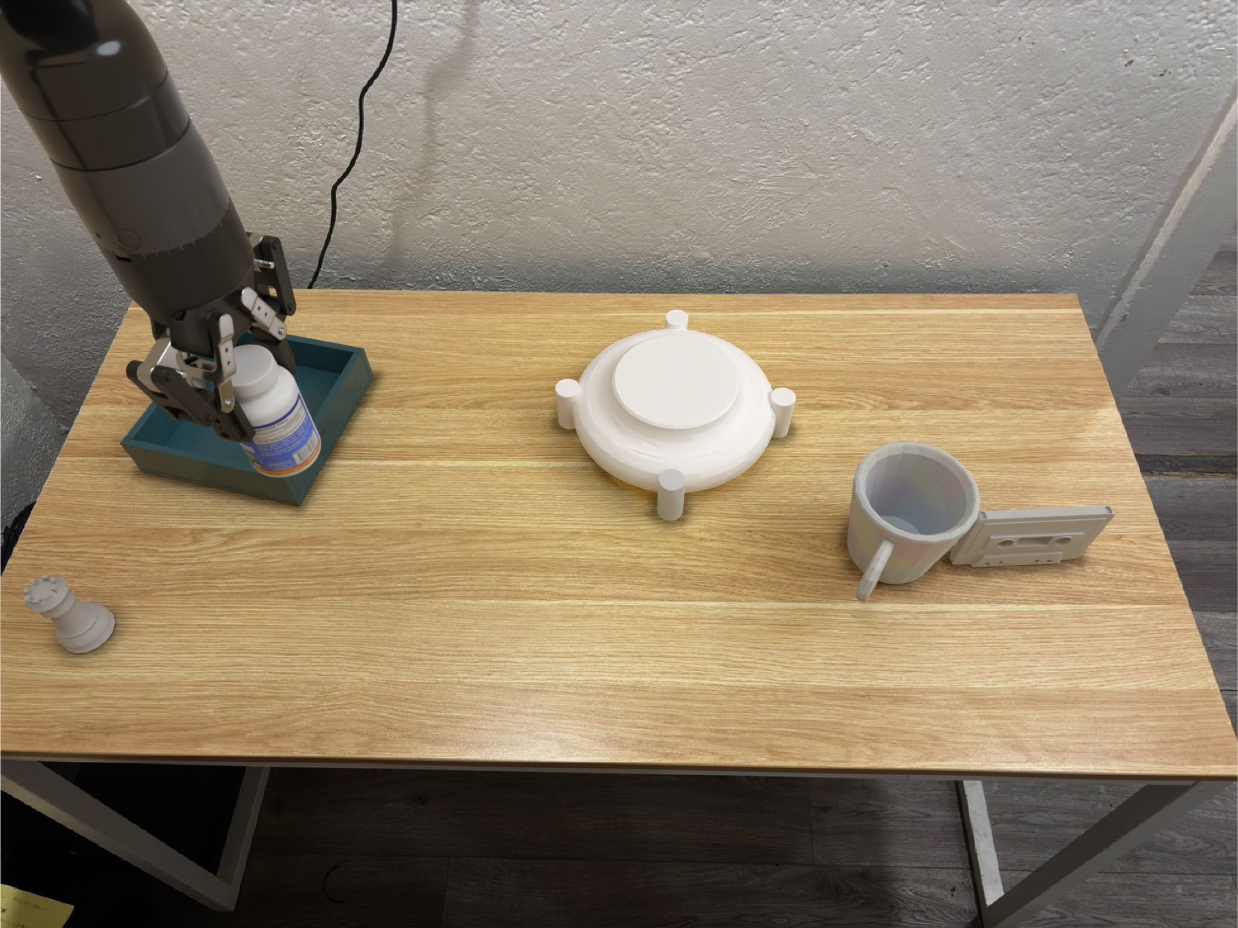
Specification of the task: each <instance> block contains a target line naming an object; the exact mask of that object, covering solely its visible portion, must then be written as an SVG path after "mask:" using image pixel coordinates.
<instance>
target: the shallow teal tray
mask: <svg viewBox="0 0 1238 928" xmlns="http://www.w3.org/2000/svg"><path fill="white" fill-rule="evenodd" d="M253 336H254V335H253V334H249V333H248V332H246V333H245V334H244V335H242V336H241V337H240V338H239V339H238V341H237V343H236V345H235V347H238V346H242V345H252V343H251V341H250V340H251V339H252V338H253ZM285 337H286V340H287V342H288V344H289V346H290V348H291V351H292V353H293V355H294V357H295V367H296V369H297V371H298V373H297V375H296V376H295V378H294V379H295V382H296V384H297V386H298V388H299V391H300V393H301V395H302V398H303V400H304V402H305V404H306V407H307V409H308V411H309V414H310V416H311V418H312V420H313V422H314V424H315V427H316V429H317V431H318V433H319V436H320V439H321V449H320V452H319V455H318V457H317V458H316V460H315V461H314V462H313V464H312V465H311V466H309V467H308V468H307V469H305V470H304V471H302V472H300V473H298V474H296V475H292V476H288V477H280V478H276V477H269V476H266V475H263V474H261V473H260V472H258V471H257V470H256V469H255V468H254V467H253V465H252V464H251V462H250V461H249V459H248V457H247V456H246V454H245V452H244V451H243V449H242V447H241V445H240V444H239V442H234V441H230V440H226V439H222V438H220V437H218V435H217V434H216V432H215V430H214V429H213V427H212V426H211V427H205V426H201V425H199V424H195V423H190V422H186V421H178V420H174V419H172V418H171V417H170V416H169V415H168V414H167V413H166V412H165V411H163V410H162V409H161V408H160V407H159V406H158V405H157V404H156V403H155V402H154V401H153V400H152V401H151V403H150V404H149V405H148V407H146V409H145V411H144V412H143V413H142V414H141V416H140V417H139V418H138V420H137V421H136V422H135V423H134V424H133V426H131V428H130V430H129V431H128V432H127V434H126V435H125V436H124V437H123V438H122V440H121V442H120V441H119V445H120V446H121V447H122V448H123V450H124V451H125V453H126V454H127V455H128V456H129V457H130V458H131V460H132V461H133V463H135V465H136V466H137V468H138V469H139V470H140V471H141V472H142V473H146V474H151V475H156V476H159V477H165V478H168V479H169V478H170V479H173V480H178V481H183V482H188V483H191V484H196V485H201V486H206V487H209V488H214V489H219V490H223V491H227V492H231V493H232V492H233V493H237V494H242V495H246V496H250V497H256V498H259V499H260V498H261V499H264V500H269V501H274V502H278V503H282V504H286V505H291V506H296V507H301V505H302V503H303V501H304V500H305V498H306V496H307V494H308V493H309V491H310V489H311V487H312V486H313V484H314V482H315V480H316V479H317V477H318V475H320V472H321V470H322V469H323V467H324V466H325V464H326V462H327V460H328V459H329V457H330V455H331V454H332V451H333V450H334V448H335V447H336V445H337V443H338V441H339V439H340V438H341V436H342V434H343V432H344V431H345V429H346V428H347V425H348V424H349V422H350V421H351V419H352V417H353V415H354V414H355V412H356V410H358V409H357V408H358V407H359V405H360V403H361V402H362V400H363V398H364V397H365V395H366V393H367V391H368V390H369V388H370V386H371V385H372V383H373V381H374V380H375V375H374V373H373V370H372V367H371V364H370V361H369V359H368V355H367V353H366V350H365V348H364V347H359V346H353V345H349V344H342V343H337V342H332V341H326V340H321V339H315V338H311V337H305V336H300V335H294V334H288V333H287V334H286V336H285ZM198 357H199V358H200V359H202V360H207V361H212V362H215V358H206V357H201V356H198ZM184 380H185V381H186V378H185V379H184ZM206 384H207V389H208V390H213V391H214V388H213V384H212V383H211V382H210V381H209V380H206Z"/></svg>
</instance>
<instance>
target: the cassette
mask: <svg viewBox="0 0 1238 928" xmlns="http://www.w3.org/2000/svg"><path fill="white" fill-rule="evenodd" d="M1115 516H1116V514H1115V511H1114V509H1113V507H1112V506H1111V505H1095V506H1094V505H1093V506H1072V507H1071V506H1070V507H1049V508H1048V507H1045V508H1027V509H1025V508H1024V509H1004V510H1003V509H1002V510H1001V509H1000V510H979V512H978V517H977V520H976V521H975V522H974V524H973V525H972V526H971V528H970V529H969V530H968V531H967V533H966V534H965V535H963V536H962V537H961V538H960V539H959V540H958V541H957V542H956V543H955V545H954V547H953V549H952V550H951V552H950V554H949V561H950V563H951V564H952V565H953V566H959V565H960V566H961V565H962V566H963V565H970V567H971V568H985V567H986V568H989V567H1008V566H1010V567H1011V566H1031V565H1033V566H1034V565H1054V564H1055V565H1056V564H1060V563H1061V561H1067V560H1068V561H1069V560H1072V561H1073V560H1077V559H1080V558H1081V556H1082V555H1083V554H1084V553H1085V552H1086V550H1088V548H1089V547H1090V546H1091V545H1092V544H1093V542H1094V541H1095V540H1096V539H1097V537H1099V535H1100V534H1101V533H1102V532H1103V530H1104V529H1106V527H1107V526H1108V524H1110V522H1111V521H1112V520H1114V518H1115Z"/></svg>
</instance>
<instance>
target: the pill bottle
mask: <svg viewBox="0 0 1238 928" xmlns="http://www.w3.org/2000/svg"><path fill="white" fill-rule="evenodd" d="M233 350H234V357H235V363H236V370H237V373H236V375H235V376H233V377H232V378H231V381H232V387H233V394H234V400H235V401H237V402H239V404H240V406H241V408H242V409H243V411H244V413H245V415H246V417H247V418H248V420H249V422H250V424H251V426H252V427H253V429H254V431H255V433H256V435H255V436H254V437H253V439H252V440H251V442H250V443H246V442H241V443H239V444H240V445H241V447H242V449H243V451H244V452H245V454H246V456H247V457H248V459H249V461H250V462H251V464H252V465H253V467H254V468H255V469H256V470H257V471H258V472H260V473H261V474H263V475H266V476H269V477H276V478H280V477H288V476H292V475H296V474H298V473H300V472H302V471H304V470H305V469H307V468H308V467H309V466H311V465H312V464H313V462H314V461H315V460H316V458H317V457H318V455H319V452H320V449H321V439H320V436H319V433H318V431H317V429H316V427H315V424H314V422H313V420H312V418H311V416H310V414H309V411H308V409H307V407H306V404H305V402H304V400H303V398H302V395H301V393H300V391H299V388H298V386H297V384H296V382H295V379H294V377H293V376H292V374H291V373H290V372H289V371H288V370H286V369H285V368H283V367H281V366H279V365H278V364H277V363H276V361H275V359H274V357H273V355H272V354H271V352H270V351H269V350H268V349H266V348H264V347H262V346H259V345H242V346H238V347H235V348H234V349H233Z"/></svg>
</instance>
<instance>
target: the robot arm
mask: <svg viewBox="0 0 1238 928" xmlns="http://www.w3.org/2000/svg"><path fill="white" fill-rule="evenodd" d="M166 63H167V62H166V61H165V59H164V57H163V55H162V53H161V50H160V49H159V47H158V44H157V42H156V40H155V38H154V37H153V35H152V33H151V32H150V30H149V29H148V27H147V25H146V24H145V22H144V21H143V20H142V18H141V17H140V16H139V15H138V13H137V12H136V10H135V9H134V8H133V7H132V6H131V5H130V4H129V3H128V1H127V0H0V77H1V79H2V82H3V83H4V85H5V87H6V89H7V91H8V93H9V94H10V96H11V98H12V99H13V101H14V103H15V105H16V107H18V109H19V111H20V113H21V114H22V116H23V118H24V119H25V121H26V122H27V125H28V126H29V127H30V129H31V130H32V132H33V134H34V135H35V137H36V138H37V140H38V142H39V144H40V145H41V147H42V148H43V150H44V152H45V153H46V155H47V156H48V159H49V160H50V162H51V164H52V166H53V168H54V171H55V173H56V175H57V178H58V180H59V183H60V185H61V187H62V190H63V191H64V193H65V196H66V197H67V198H68V200H69V202H70V204H71V206H72V207H73V209H74V210H75V212H76V214H77V215H78V217H79V219H80V220H81V222H82V223H83V225H84V226H85V228H86V229H87V231H88V233H89V234H90V236H91V238H92V239H93V241H94V242H95V244H96V246H97V248H98V249H99V251H100V252H101V254H102V256H103V257H104V259H105V260H106V262H107V264H108V265H109V267H110V268H111V270H112V272H113V274H114V275H115V276H116V278H117V279H118V281H119V283H120V284H121V285H122V288H123V290H124V291H125V293H126V294H127V295H128V296H129V297H130V298H131V299H132V301H134V302H135V303H136V304H137V305H138V306H139V307H140V308H141V309H142V310H143V311H144V312H145V313H146V314H147V316H148V318H149V321H150V326H151V333H152V338H153V340H154V341H155V343H154V344H153V346H152V347H151V349H150V351H149V352H148V354H147V356H146V357H145V358H144V360H143V361H142V360H138V359H132V360H130V361H129V362H128V363H127V365H126V367H125V375H126V377H127V379H128V380H130V382H132V383H133V384H134V385H135V386H136V387H137V388H138V389H139V390H140V391H142V393H144V395H146V396H147V397H148V398H149V399H150V400H151V401H152V402H153V401H154V402H155V403H156V404H157V405H158V406H159V407H160V408H161V409H162V410H163V411H165V412H166V413H167V414H168V415H169V416H170V417H171V418H172V419H174V420H178V421H186V422H190V423H195V424H199V425H201V426H205V427H211V426H212V427H213V429H214V430H215V432H216V434H217V435H218V437H220V438H222V439H226V440H230V441H234V442H239V443H241V442H246V443H250V442H251V440H252V439H253V437H254V436H255V435H256V433H255V431H254V429H253V427H252V426H251V424H250V422H249V420H248V418H247V417H246V415H245V413H244V411H243V409H242V408H241V406H240V404H239V402H237V401H235V400H234V394H233V387H232V381H231V378H232V377H233V376H235V375H236V373H237V370H236V363H235V357H234V350H233V349H234V348H235V345H236V343H237V341H238V339H239V338H240V337H241V336H242V335H244V334H245V333H246V332H248V333H249V334H253V335H254V336H253V338H252V339H251V340H250V341H251V343H252V345H259V346H262V347H264V348H266V349H268V350H269V351H270V352H271V354H272V355H273V357H274V359H275V361H276V363H277V364H278V365H279V366H281V367H283V368H285V369H286V370H288V371H289V372H290V373H291V374H292V376H293V377H294V378H295V376H296V375H297V373H298V371H297V369H296V367H295V357H294V355H293V353H292V351H291V348H290V346H289V344H288V342H287V340H286V337H285V336H286V334H288V327H287V324H285V322H286V319H287V317H293V316H294V315H295V314H296V311H297V302H296V298H295V294H294V289H293V287H292V281H291V278H290V273H289V269H288V264H287V260H286V257H285V253H284V249H283V245H282V241H281V239H280V238H279V237H278V236H274V235H267V234H264V233H263V234H262V233H257V232H251V231H246V230H245V228H244V225H243V223H242V220H241V217H240V215H239V214H238V211H237V209H236V206H235V205H234V203H233V200H232V198H231V195H230V193H229V191H228V189H227V187H226V184H225V181H224V180H223V176H222V174H221V173H220V170H219V168H218V166H217V163H216V161H215V159H214V157H213V155H212V153H211V151H210V148H209V147H208V145H207V144H206V142H205V140H204V139H203V137H202V136H201V133H200V132H199V131H198V128H197V127H196V126H195V124H194V122H193V121H192V117H191V116H190V114H189V112H188V110H187V108H186V106H185V103H184V101H183V99H182V97H181V94H180V92H179V90H178V87H177V85H176V83H175V81H174V79H173V76H172V74H171V72H170V69H169V67H168V65H167V64H166ZM270 287H272V288H273V289H274V290H275V293H276V295H274V294H271V291H270ZM198 356H201V357H206V358H215V362H212V361H207V360H202V359H200V358H199V357H198ZM185 378H186V381H185V380H184V379H185ZM206 380H209V381H210V382H211V383H212V384H213V388H214V391H213V390H208V389H207V384H206Z"/></svg>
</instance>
